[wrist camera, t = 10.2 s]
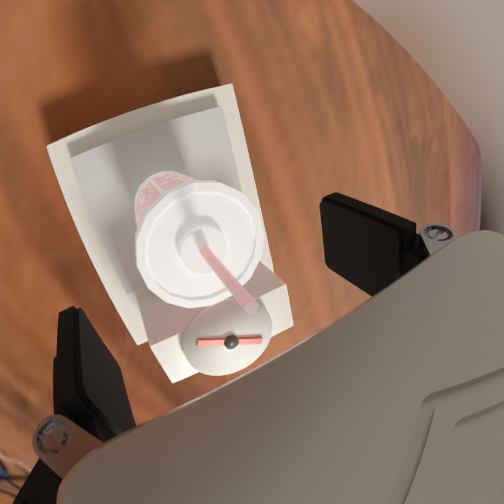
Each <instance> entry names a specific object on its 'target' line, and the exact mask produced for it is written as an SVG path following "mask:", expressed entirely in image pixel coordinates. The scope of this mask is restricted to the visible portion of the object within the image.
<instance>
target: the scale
mask: <svg viewBox="0 0 504 504" xmlns="http://www.w3.org/2000/svg"><path fill="white" fill-rule="evenodd" d="M47 150H48V153H49V156H50V159H51V162H52V165H53V168H54V171H55V174H56V176H57V179H58V182H59V185H60V187H61V190H62V193H63V195H64V198H65V200H66V203H67V206H68V208H69V211H70V213H71V215H72V218H73V220H74V223H75V225H76V227H77V230H78V232H79V234H80V236H81V239H82V241H83V243H84V245H85V248H86V250H87V252H88V254H89V256H90V258H91V260H92V263H93V265H94V267H95V269H96V271H97V273H98V275H99V277H100V279H101V281H102V283H103V285H104V287H105V289H106V290H107V292H108V294H109V296H110V298H111V300H112V302H113V304H114V305H115V307H116V309H117V311H118V313H119V315H120V316H121V318H122V320H123V322H124V323H125V325H126V327H127V329H128V330H129V332H130V334H131V335H132V337H133V339H134V340H135V342H136V344H137V345H139V344H142V343H144V342H146V341H148V342H149V346H150V348H151V349H152V351H153V353H154V354H155V356H156V358H157V359H158V361H159V363H160V364H161V366H162V367H163V369H164V371H165V372H166V374H167V375H168V377H169V379H170V380H171V382H172V383H175V382H177V381H180V380H182V379H184V378H186V377H189V376H191V375H193V374H195V373H198V372H201V373H204V374H207V375H214V376H218V375H227V374H231V373H234V372H237V371H239V370H241V369H243V368H245V367H247V366H248V365H250V364H251V363H252V362H254V361H255V360H256V359H257V358H258V357H259V356H260V355H261V354H262V353H263V351H264V350H265V348H266V347H267V345H268V343H269V341H270V338H271V337H272V336H274V335H276V334H278V333H280V332H282V331H284V330H286V329H288V328H290V327H291V326H293V320H292V314H291V309H290V303H289V297H288V292H287V286H286V283H284V282H283V281H282V280H281V279H280V278H279V277H278V276H276V275H275V274H274V270H273V265H272V260H271V255H270V250H269V246H268V241H267V236H266V232H265V227H264V222H263V218H262V213H261V208H260V204H259V199H258V195H257V190H256V185H255V181H254V176H253V172H252V167H251V163H250V158H249V154H248V150H247V145H246V141H245V136H244V132H243V127H242V123H241V119H240V114H239V110H238V106H237V101H236V97H235V93H234V89H233V84H228V85H223V86H219V87H214V88H210V89H206V90H202V91H198V92H194V93H190V94H186V95H182V96H179V97H175V98H172V99H168V100H165V101H161V102H158V103H155V104H152V105H148V106H145V107H142V108H139V109H136V110H133V111H130V112H127V113H125V114H122V115H119V116H116V117H114V118H111V119H108V120H106V121H103V122H100V123H98V124H95V125H93V126H90V127H88V128H85V129H83V130H81V131H78V132H76V133H74V134H71V135H69V136H67V137H65V138H62V139H60V140H58V141H56V142H54V143H52V144H50V145H47ZM162 171H169V172H177V173H180V174H183V175H186V176H188V177H191V178H194V179H197V180H213V181H217V182H221V183H223V184H225V185H227V186H229V187H231V188H233V189H235V190H237V191H239V192H242V193H243V194H245V196H246V197H247V198H248V199H249V201H250V202H251V203H252V204H253V206H254V207H255V208H256V209H257V211H258V212H259V215H260V219H261V223H262V227H263V231H264V241H263V248H262V256H261V259H260V261H259V263H258V265H257V267H256V269H255V271H254V272H253V274H252V276H251V278H250V279H249V280H248V281H247V282H246V283H245V284H244V285H243V287H244V288H245V289H246V291H247V292H248V293H249V294H250V295H251V296H252V297H253V298H254V299H255V301H256V302H257V303H258V309H257V310H256V311H255V312H254V313H252V314H248V313H246V312H245V310H244V309H243V308H242V307H241V305H240V304H239V303H238V302H237V300H236V299H235V298H234V297H233V295H232V296H230V297H228V298H226V299H224V300H222V301H220V302H218V303H216V304H214V305H212V306H204V307H196V308H185V307H181V306H178V305H174V304H170V303H166V302H165V301H164V300H162V299H161V298H160V297H158V296H157V295H156V294H155V293H153V292H152V291H151V290H150V289H148V287H147V285H146V283H145V281H144V279H143V277H142V275H141V273H140V271H139V269H138V267H137V264H136V246H135V234H136V231H137V225H136V217H135V197H136V194H137V192H138V190H139V187H140V185H141V184H142V183H143V182H144V181H145V180H146V179H148V178H149V177H150V176H152V175H154V174H157V173H159V172H162Z"/></svg>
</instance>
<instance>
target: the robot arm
mask: <svg viewBox="0 0 504 504" xmlns="http://www.w3.org/2000/svg"><path fill="white" fill-rule="evenodd" d="M320 215H321V224H322V233H323V243H324V254H325V262H326V265H327V266H328V268H329V269H331V270H332V271H334V272H335V273H337V274H339V275H340V276H342V277H343V278H345V279H346V280H348V281H349V282H351V283H352V284H354V285H355V286H357V287H358V288H360V289H361V290H363V291H364V292H366V293H367V294H369V295H370V296H372V297H371V298H369V299H368V300H366V301H365V302H363V303H362V304H360V305H359V306H357V307H356V308H354V309H353V310H351V311H350V312H348V313H347V314H345V315H344V316H342V317H340V318H339V319H337V320H336V321H334V322H333V323H331V324H329V325H328V326H326V327H325V328H323V329H321V330H320V331H318V332H316V333H315V334H313V335H312V336H310V337H308V338H307V339H305V340H303V341H302V342H300V343H298V344H296V345H295V346H293V347H291V348H290V349H288V350H286V351H284V352H283V353H281V354H279V355H277V356H276V357H274V358H272V359H270V360H269V361H267V362H265V363H263V364H261V365H260V366H258V367H256V368H254V369H252V370H250V371H249V372H247V373H245V374H243V375H241V376H239V377H237V378H235V379H234V380H232V381H230V382H228V383H226V384H224V385H222V386H220V387H218V388H216V389H214V390H212V391H210V392H208V393H206V394H204V395H202V396H200V397H198V398H196V399H194V400H191V401H189V402H187V403H185V404H183V405H181V406H179V407H177V408H175V409H172V410H170V411H168V412H166V413H164V414H162V415H159V416H157V417H155V418H153V419H151V420H149V421H147V422H145V423H143V424H140V425H138V426H136V424H135V421H134V417H133V414H132V410H131V407H130V403H129V400H128V396H127V392H126V388H125V384H124V380H123V376H122V372H121V369H120V367H119V365H118V363H117V361H116V360H115V359H114V357H113V356H112V354H111V353H110V351H109V350H108V348H107V347H106V345H105V344H104V343H103V341H102V340H101V338H100V336H99V335H98V333H97V332H96V330H95V329H94V327H93V326H92V324H91V322H90V321H89V319H88V318H87V316H86V314H85V313H84V311H83V310H82V308H78V309H76V308H75V307H74V306H72V307H70V308H68V309H65V310H63V311H61V312H59V317H58V332H57V356H56V357H55V358H54V361H53V402H54V415H51V416H48V417H47V418H45V419H44V420H42V421H41V423H40V424H39V425H38V426H37V428H36V430H35V432H34V435H33V443H32V444H33V448H34V451H35V453H36V454H37V456H38V457H39V460H38V461H37V463H36V464H35V466H34V468H33V469H32V471H31V473H30V474H29V476H28V478H27V479H26V481H25V483H24V484H23V486H22V488H21V489H20V491H19V493H18V495H17V496H16V498H15V500H14V502H13V504H504V235H502V234H499V233H497V232H493V231H489V230H486V231H485V230H484V231H476V232H472V233H468V234H465V235H463V236H461V237H459V236H458V235H457V233H456V232H455V231H454V230H453V229H452V228H451V227H449V226H446V225H443V224H436V223H432V224H427V225H424V226H423V227H422V228H421V229H420V235H419V234H417V233H416V223H415V222H412V221H410V220H407V219H405V218H402V217H400V216H398V215H395V214H393V213H390V212H388V211H385V210H382V209H380V208H377V207H375V206H372V205H370V204H367V203H364V202H362V201H359V200H356V199H354V198H351V197H348V196H345V195H343V194H340V193H336V192H335V193H332V194H330V195H327V196H325V197H323V198H322V202H321V203H320Z"/></svg>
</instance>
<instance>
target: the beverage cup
mask: <svg viewBox="0 0 504 504" xmlns="http://www.w3.org/2000/svg"><path fill="white" fill-rule="evenodd" d="M135 217H136V225H137V231H136V234H135V246H136V264H137V267H138V269H139V271H140V273H141V275H142V277H143V279H144V281H145V283H146V285H147V287H148V289H150V290H151V291H152V292H153V293H155V294H156V295H157V296H158V297H160V298H161V299H162V300H164V301H165V302H166V303H170V304H174V305H178V306H181V307H185V308H196V307H204V306H212V305H214V304H216V303H218V302H220V301H222V300H224V299H226V298H228V297H230V296H232V295H233V297H234V298H235V299H236V300H237V302H238V303H239V304H240V305H241V307H242V308H243V309H244V310H245V312H246V313H248V314H252V313H254V312H255V311H256V310H257V309H258V303H257V302H256V301H255V299H254V298H253V297H252V296H251V295H250V294H249V293H248V292H247V291H246V289H245V288H244V287H243V285H244V284H245V283H246V282H247V281H248V280H249V279H250V278H251V276H252V274H253V272H254V271H255V269H256V267H257V265H258V263H259V261H260V259H261V256H262V248H263V241H264V231H263V227H262V223H261V219H260V215H259V212H258V211H257V209H256V208H255V207H254V206H253V204H252V203H251V202H250V201H249V199H248V198H247V197H246V196H245V194H243V193H242V192H239V191H237V190H235V189H233V188H231V187H229V186H227V185H225V184H223V183H221V182H217V181H213V180H197V179H194V178H191V177H188V176H186V175H183V174H180V173H177V172H169V171H162V172H159V173H157V174H154V175H152V176H150V177H149V178H148V179H146V180H145V181H144V182H143V183H142V184H141V185H140V187H139V190H138V192H137V194H136V197H135Z"/></svg>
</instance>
